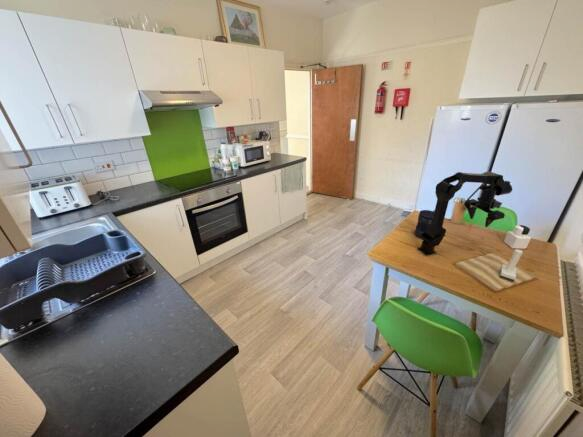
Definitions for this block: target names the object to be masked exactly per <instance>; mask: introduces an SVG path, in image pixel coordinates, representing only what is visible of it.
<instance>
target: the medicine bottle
mask: <svg viewBox="0 0 583 437" xmlns="http://www.w3.org/2000/svg"><path fill="white" fill-rule="evenodd" d="M530 232H531V228H530V227H529V226H526V225H523V224H517V225H515V226H514V229H513V230H512V231H510V230H509V231H507V233H506V235H505V238H504V240H503V242H504V243H505V244H506V245H507V246H508V247H510V248H511V249H518V250H522V249H523V250H525V249H527V247H528V246H529V243H530V242H531V239H532V237H531V236H529V233H530Z"/></svg>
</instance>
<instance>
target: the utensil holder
mask: <svg viewBox="0 0 583 437" xmlns="http://www.w3.org/2000/svg"><path fill="white" fill-rule="evenodd" d="M483 185H486V183H481V185H479V186H478V187H477V188H476V190H474V192H473V193H471V195H470V196H469V197H467V198H465V197H453V198H452V199H453V204H452V210H451V215H450V220H449V221H450V222H451V223H453V224H462V222H463V220H464V218H465V216H466V214H467V212H468V210H467V208H466V207H465V205H464V203H465V201H466V200H471V198H472V197H473V196H474V195H475V194H476V193H477V192H478V191H479V190H480V189H479V188H480V187H481V186H483Z"/></svg>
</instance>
